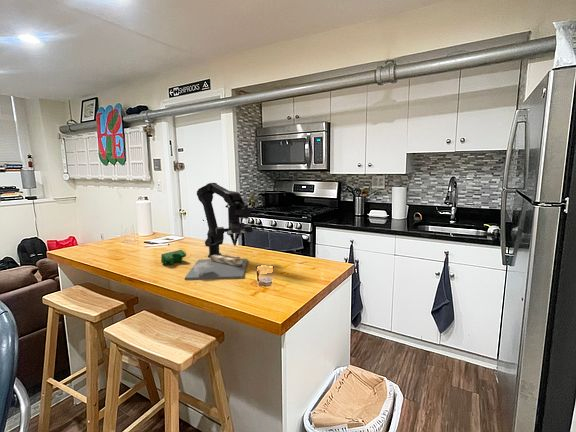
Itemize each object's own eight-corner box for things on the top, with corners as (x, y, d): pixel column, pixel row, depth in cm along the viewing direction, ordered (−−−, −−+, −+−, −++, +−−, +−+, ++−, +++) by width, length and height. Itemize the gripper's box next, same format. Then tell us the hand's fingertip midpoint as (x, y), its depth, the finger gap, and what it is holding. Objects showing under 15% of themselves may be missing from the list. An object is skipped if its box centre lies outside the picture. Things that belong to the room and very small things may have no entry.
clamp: (170, 273, 163) (164, 260, 157) (164, 268, 166) (158, 256, 161) (189, 260, 169) (184, 248, 164) (183, 256, 173) (178, 243, 168)
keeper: (208, 271, 151) (208, 261, 150) (214, 275, 146) (214, 264, 145) (193, 275, 147) (192, 264, 146) (199, 279, 141) (198, 268, 140)
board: (198, 261, 168) (198, 259, 168) (247, 260, 170) (247, 258, 170) (184, 279, 141) (184, 277, 141) (243, 278, 142) (242, 276, 142)
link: (244, 264, 158) (244, 256, 157) (239, 266, 154) (238, 258, 154) (215, 258, 168) (214, 251, 168) (209, 260, 165) (209, 253, 164)
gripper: (217, 220, 153) (218, 251, 155) (254, 217, 159) (255, 247, 161) (215, 216, 163) (216, 245, 166) (250, 214, 169) (250, 242, 172)
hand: (234, 245), depth 166 cm, fingers closed
